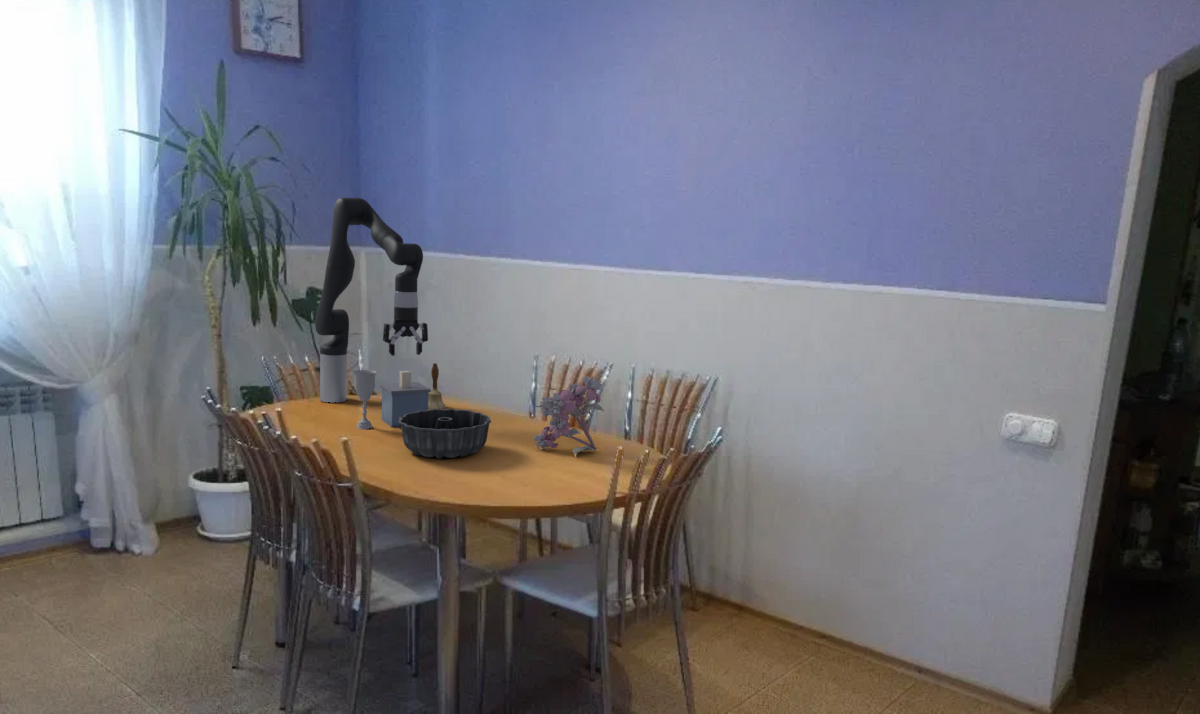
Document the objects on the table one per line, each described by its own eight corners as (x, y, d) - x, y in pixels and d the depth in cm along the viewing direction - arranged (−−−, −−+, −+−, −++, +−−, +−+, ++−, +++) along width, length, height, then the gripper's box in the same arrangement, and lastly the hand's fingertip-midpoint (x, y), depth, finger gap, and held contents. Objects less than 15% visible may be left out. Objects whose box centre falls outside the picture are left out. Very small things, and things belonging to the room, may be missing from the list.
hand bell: (446, 409, 305) (447, 365, 303) (423, 409, 303) (423, 365, 301) (445, 404, 313) (446, 361, 311) (422, 404, 311) (423, 361, 309)
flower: (578, 432, 273) (550, 365, 264) (629, 440, 257) (601, 368, 248) (535, 469, 261) (504, 399, 252) (586, 479, 245) (555, 405, 236)
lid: (380, 390, 284) (380, 369, 283) (418, 388, 290) (418, 367, 289) (391, 398, 273) (391, 375, 272) (430, 395, 279) (430, 374, 278)
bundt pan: (406, 466, 232) (406, 430, 231) (391, 442, 256) (391, 410, 255) (500, 461, 242) (501, 426, 241) (477, 438, 266) (478, 407, 265)
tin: (381, 419, 285) (382, 387, 283) (416, 417, 291) (417, 385, 289) (391, 427, 275) (392, 394, 273) (428, 424, 281) (428, 392, 279)
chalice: (379, 425, 276) (379, 370, 274) (371, 430, 270) (372, 374, 267) (357, 424, 277) (357, 369, 274) (349, 429, 270) (349, 372, 268)
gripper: (423, 304, 284) (423, 352, 286) (381, 304, 277) (380, 354, 279) (431, 306, 277) (430, 355, 280) (387, 306, 270) (387, 357, 273)
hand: (405, 354), depth 280 cm, fingers open, 8 cm apart
